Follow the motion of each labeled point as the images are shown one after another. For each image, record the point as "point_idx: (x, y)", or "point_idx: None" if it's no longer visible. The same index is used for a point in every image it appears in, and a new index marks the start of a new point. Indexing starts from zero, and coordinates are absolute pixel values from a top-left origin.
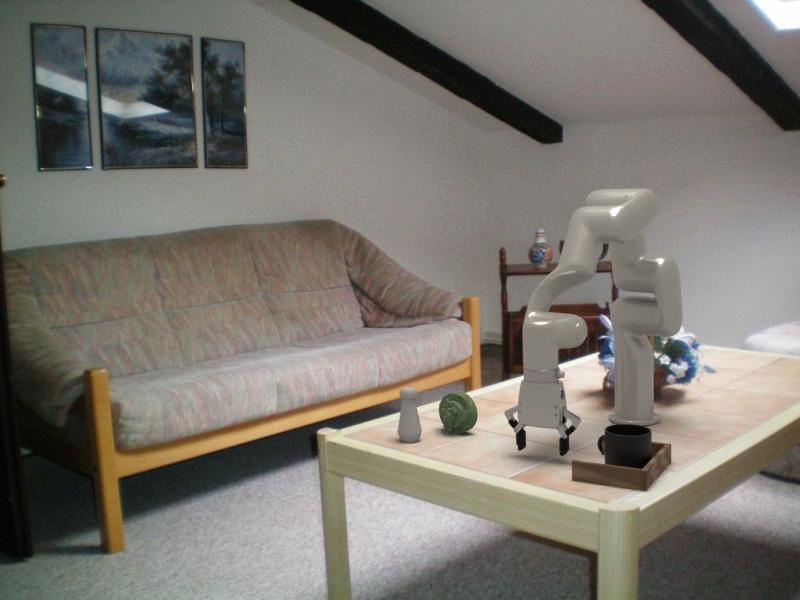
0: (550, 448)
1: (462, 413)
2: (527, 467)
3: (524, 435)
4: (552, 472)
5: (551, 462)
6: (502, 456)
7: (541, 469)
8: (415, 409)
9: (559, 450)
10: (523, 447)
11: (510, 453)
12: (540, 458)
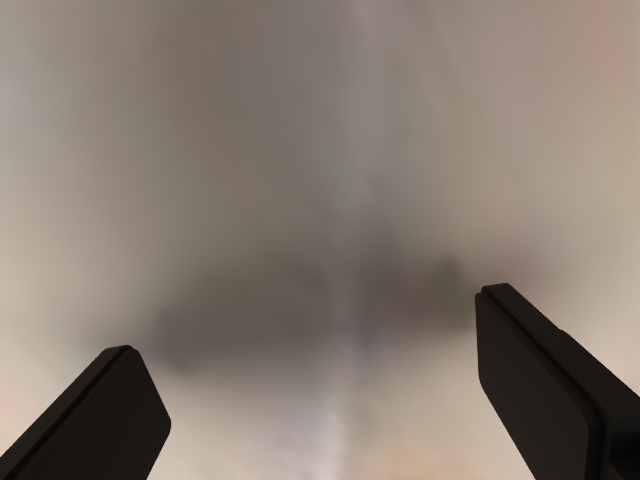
0: (182, 36)
1: None
2: (319, 460)
3: (71, 473)
4: (476, 456)
5: (388, 333)
6: None
7: (401, 449)
8: None
9: (500, 417)
10: (151, 398)
11: (62, 326)
12: (283, 306)
